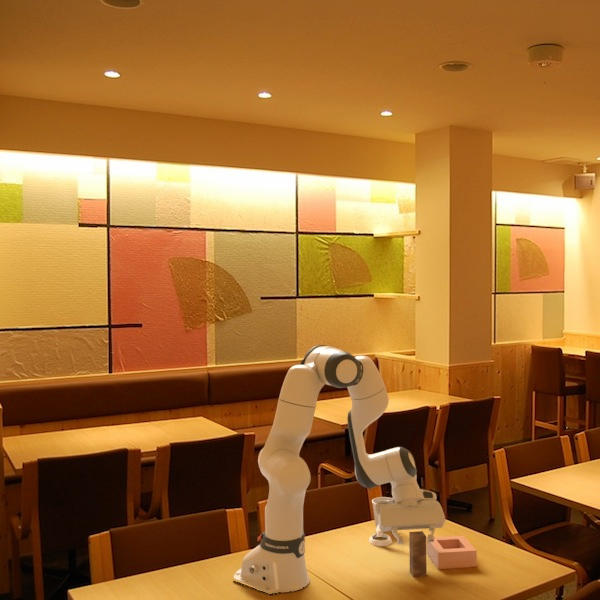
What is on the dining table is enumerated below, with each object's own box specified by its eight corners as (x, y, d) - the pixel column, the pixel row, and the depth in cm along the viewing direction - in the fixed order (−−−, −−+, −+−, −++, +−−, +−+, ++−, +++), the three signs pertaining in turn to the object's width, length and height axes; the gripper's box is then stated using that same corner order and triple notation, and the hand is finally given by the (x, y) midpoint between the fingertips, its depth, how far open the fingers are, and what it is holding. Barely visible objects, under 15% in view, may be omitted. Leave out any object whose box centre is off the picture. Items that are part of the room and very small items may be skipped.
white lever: (408, 530, 229) (391, 520, 227) (386, 558, 231) (369, 548, 229) (402, 517, 236) (386, 508, 234) (381, 544, 238) (365, 535, 236)
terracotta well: (438, 569, 211) (437, 552, 211) (426, 553, 223) (426, 537, 223) (476, 566, 213) (476, 550, 212) (463, 550, 225) (463, 535, 224)
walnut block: (413, 577, 206) (412, 537, 206) (409, 571, 210) (409, 531, 210) (426, 576, 207) (426, 536, 206) (422, 570, 211) (422, 531, 210)
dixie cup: (372, 524, 249) (371, 496, 248) (395, 524, 248) (395, 497, 248) (372, 533, 241) (371, 504, 240) (396, 533, 240) (396, 505, 239)
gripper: (376, 496, 216) (383, 539, 207) (440, 492, 218) (451, 535, 209) (373, 505, 221) (380, 548, 211) (436, 502, 223) (446, 544, 214)
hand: (416, 542), depth 210 cm, fingers open, 8 cm apart
